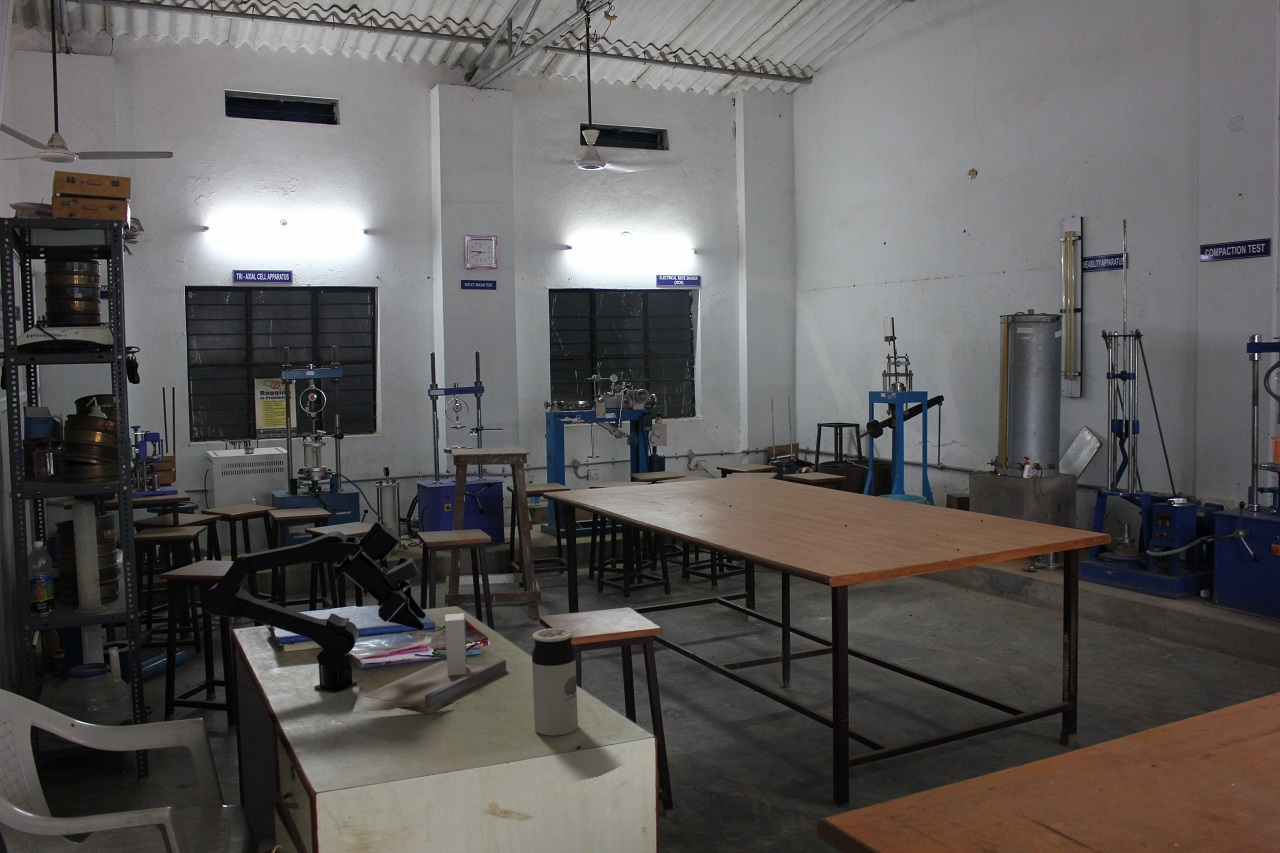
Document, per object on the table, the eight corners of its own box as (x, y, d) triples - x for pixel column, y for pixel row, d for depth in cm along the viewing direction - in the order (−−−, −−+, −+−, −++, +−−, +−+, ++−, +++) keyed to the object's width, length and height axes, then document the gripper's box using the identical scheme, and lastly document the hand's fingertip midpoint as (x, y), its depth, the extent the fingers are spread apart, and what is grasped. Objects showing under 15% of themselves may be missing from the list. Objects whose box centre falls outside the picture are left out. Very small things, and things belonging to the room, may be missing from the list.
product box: (447, 675, 206) (445, 620, 205) (447, 667, 211) (445, 614, 211) (467, 673, 207) (465, 619, 206) (467, 666, 212) (464, 613, 211)
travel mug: (526, 730, 177) (522, 634, 175) (557, 717, 182) (554, 625, 181) (554, 740, 171) (551, 642, 170) (586, 727, 177) (583, 632, 176)
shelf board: (362, 701, 195) (361, 684, 195) (442, 665, 217) (441, 650, 217) (430, 714, 186) (429, 696, 186) (506, 675, 208) (505, 659, 208)
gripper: (392, 556, 196) (449, 604, 199) (397, 540, 214) (449, 585, 217) (354, 597, 195) (412, 645, 198) (363, 577, 213) (415, 622, 216)
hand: (423, 622), depth 207 cm, fingers open, 9 cm apart
